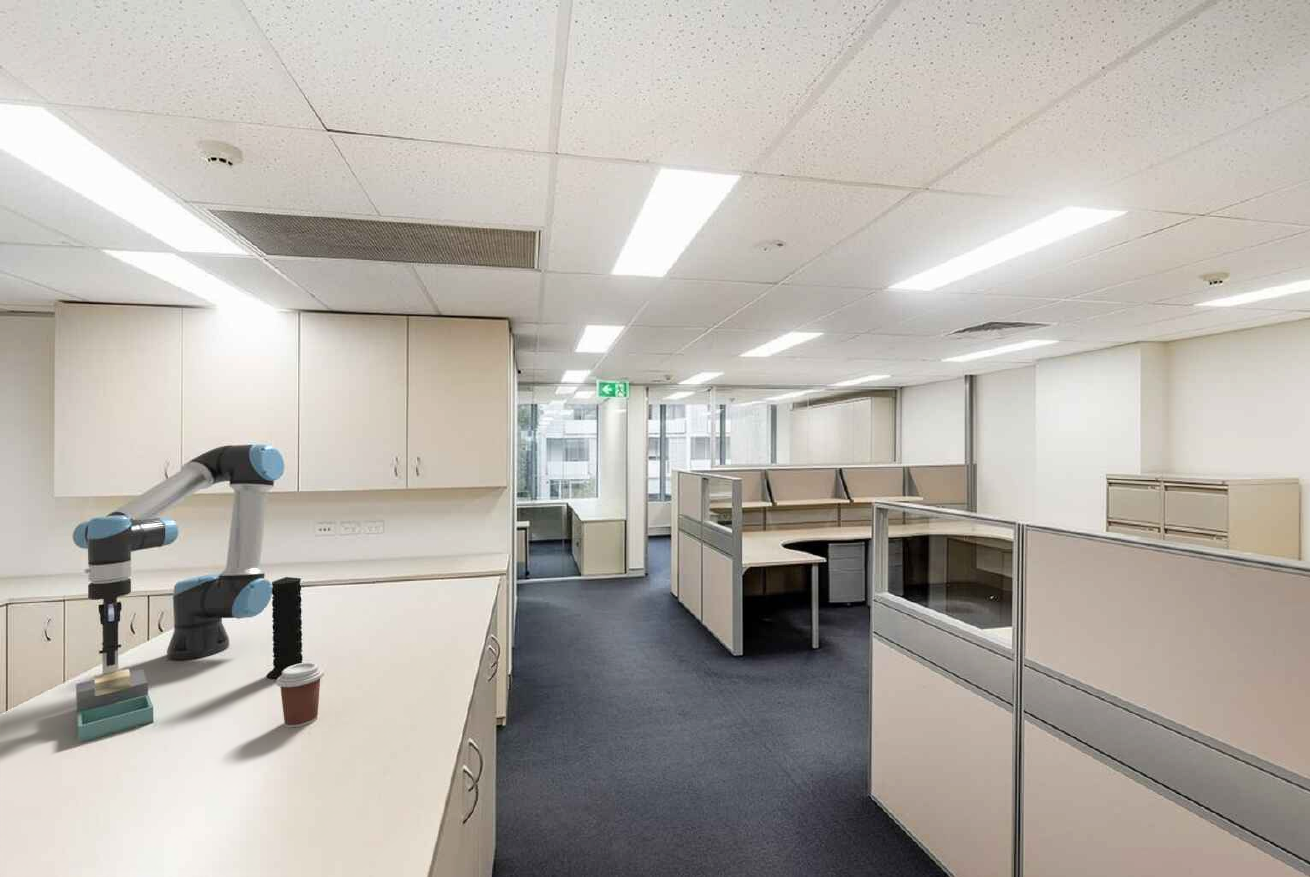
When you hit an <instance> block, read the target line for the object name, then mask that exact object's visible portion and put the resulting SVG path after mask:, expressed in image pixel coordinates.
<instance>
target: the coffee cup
mask: <svg viewBox="0 0 1310 877" xmlns="http://www.w3.org/2000/svg"><path fill="white" fill-rule="evenodd" d="M324 674H325V673H324V670H323V669H322V668H320V667H319V664H318V663H316V662H313V661H312V662H311V661H310V662H308V661H307V662H303V663H300V664H295V665H292V666H289V667H287V668H285V669H284V670H283V671H282V675H281V676H280V677H279V678H278V679H277V680H276V686H278V687H280V696H281V703H282V713H283V720H284V721H283V722H284V723H283V724H284V727H285V726H286V727H285V728H287V727H289V728H288V729H294V728H293V727H297V728H301V727H300V726H302V727H304V726H308V725H310V724H313V723H314V722H316V721H317V719H318V716H319V715H318V714H319V701H320V688H321V687H320V686H321V678H323V676H324Z"/></svg>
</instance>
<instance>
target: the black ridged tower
mask: <svg viewBox="0 0 1310 877" xmlns="http://www.w3.org/2000/svg"><path fill="white" fill-rule="evenodd" d="M301 580H302V578H300V577H292V576H290V577H289V576H285V577H282V578H280V579H276V580H274V581H272V582H271V586H272V596H271V599H272V602H271V605H272V609H271V610H272V613H271V614H272V615H271V616H272V634H273V636H272V642H273V643H272V646H273V647H272V653H273V656H272V657H273V661H272V665H273V668H272V670H270V671H268V673H267V674H266V676H265V677H266V679H268V680H276V679H278V678H279V677H280V676H281V675H282V671H283V670H284V669H285V668H287V667H289V666H292V665H295V664H300V663H304V662H303V649H302V648H303V643H302V641H303V638H302V636H303V631H302V629H303V627H302V624H303V621H302V606H303V605H302V597H301V595H302V592H301V591H302V584H301Z"/></svg>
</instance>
